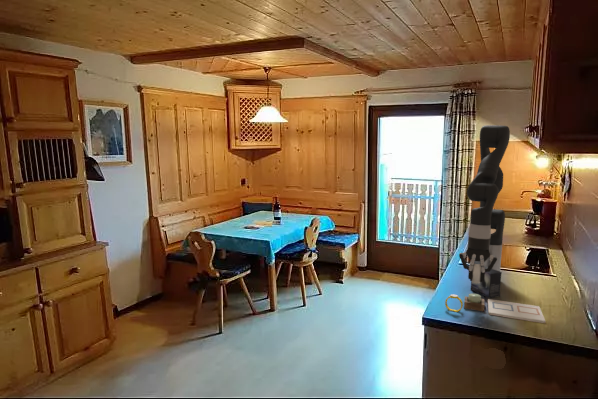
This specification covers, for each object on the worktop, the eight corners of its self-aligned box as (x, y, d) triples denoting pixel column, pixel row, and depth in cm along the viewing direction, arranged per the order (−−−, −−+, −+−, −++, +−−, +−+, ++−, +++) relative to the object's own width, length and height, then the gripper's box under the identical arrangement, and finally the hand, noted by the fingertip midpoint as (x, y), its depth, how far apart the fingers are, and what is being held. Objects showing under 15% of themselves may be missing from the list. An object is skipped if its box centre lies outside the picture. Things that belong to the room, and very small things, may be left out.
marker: (471, 282, 161) (473, 259, 160) (480, 283, 160) (482, 260, 159) (471, 284, 158) (473, 260, 157) (480, 285, 157) (482, 261, 156)
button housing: (464, 302, 165) (464, 296, 165) (483, 305, 162) (484, 299, 162) (463, 308, 159) (464, 301, 158) (484, 311, 156) (484, 304, 156)
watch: (444, 311, 156) (444, 295, 156) (446, 308, 158) (446, 293, 158) (461, 313, 153) (461, 297, 153) (463, 311, 155) (462, 295, 155)
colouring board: (487, 300, 168) (487, 298, 168) (539, 308, 161) (539, 306, 161) (488, 314, 153) (488, 312, 153) (545, 323, 146) (545, 320, 146)
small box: (469, 290, 181) (471, 266, 180) (481, 288, 183) (482, 265, 182) (488, 298, 171) (490, 273, 170) (500, 296, 173) (502, 271, 172)
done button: (468, 300, 163) (468, 292, 163) (480, 302, 161) (481, 294, 161) (467, 303, 159) (468, 296, 159) (480, 305, 157) (481, 298, 157)
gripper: (499, 236, 158) (495, 281, 160) (459, 232, 164) (456, 275, 165) (500, 239, 151) (496, 286, 153) (459, 235, 157) (455, 280, 159)
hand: (475, 280), depth 159 cm, fingers closed on marker, 3 cm apart
